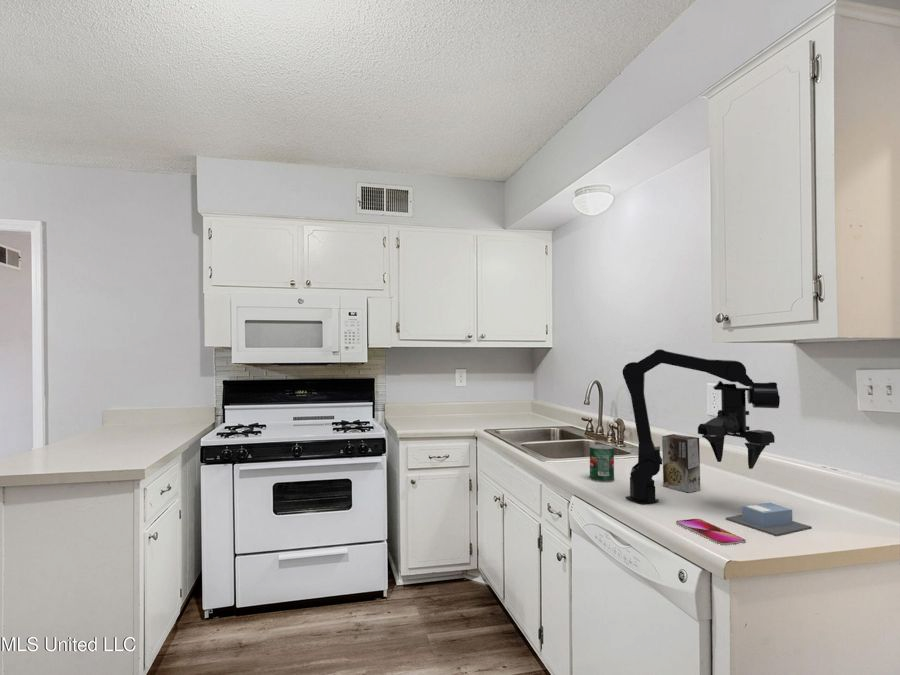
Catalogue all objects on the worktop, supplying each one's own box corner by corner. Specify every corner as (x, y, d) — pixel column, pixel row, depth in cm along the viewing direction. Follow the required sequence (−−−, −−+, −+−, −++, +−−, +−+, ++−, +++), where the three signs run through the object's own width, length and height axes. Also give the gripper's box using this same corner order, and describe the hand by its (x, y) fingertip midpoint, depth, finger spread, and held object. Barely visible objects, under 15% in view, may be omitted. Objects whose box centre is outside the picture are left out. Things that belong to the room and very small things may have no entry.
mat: (725, 519, 128) (725, 517, 128) (759, 512, 133) (759, 511, 133) (776, 536, 116) (776, 534, 116) (811, 528, 121) (811, 526, 122)
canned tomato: (585, 477, 171) (584, 444, 172) (604, 475, 174) (604, 443, 174) (598, 483, 164) (598, 449, 164) (619, 481, 166) (619, 447, 167)
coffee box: (701, 490, 155) (700, 437, 156) (688, 493, 152) (687, 439, 152) (674, 483, 163) (673, 433, 164) (662, 486, 160) (661, 435, 160)
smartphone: (721, 544, 111) (673, 520, 125) (721, 548, 111) (673, 524, 125) (748, 540, 112) (698, 518, 127) (748, 545, 112) (698, 522, 127)
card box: (770, 516, 129) (770, 502, 129) (792, 524, 123) (792, 509, 123) (742, 519, 126) (742, 505, 127) (763, 527, 121) (763, 512, 121)
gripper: (683, 404, 142) (684, 461, 141) (745, 412, 124) (746, 475, 124) (711, 403, 146) (712, 457, 146) (775, 409, 129) (776, 471, 128)
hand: (734, 465), depth 136 cm, fingers open, 9 cm apart
